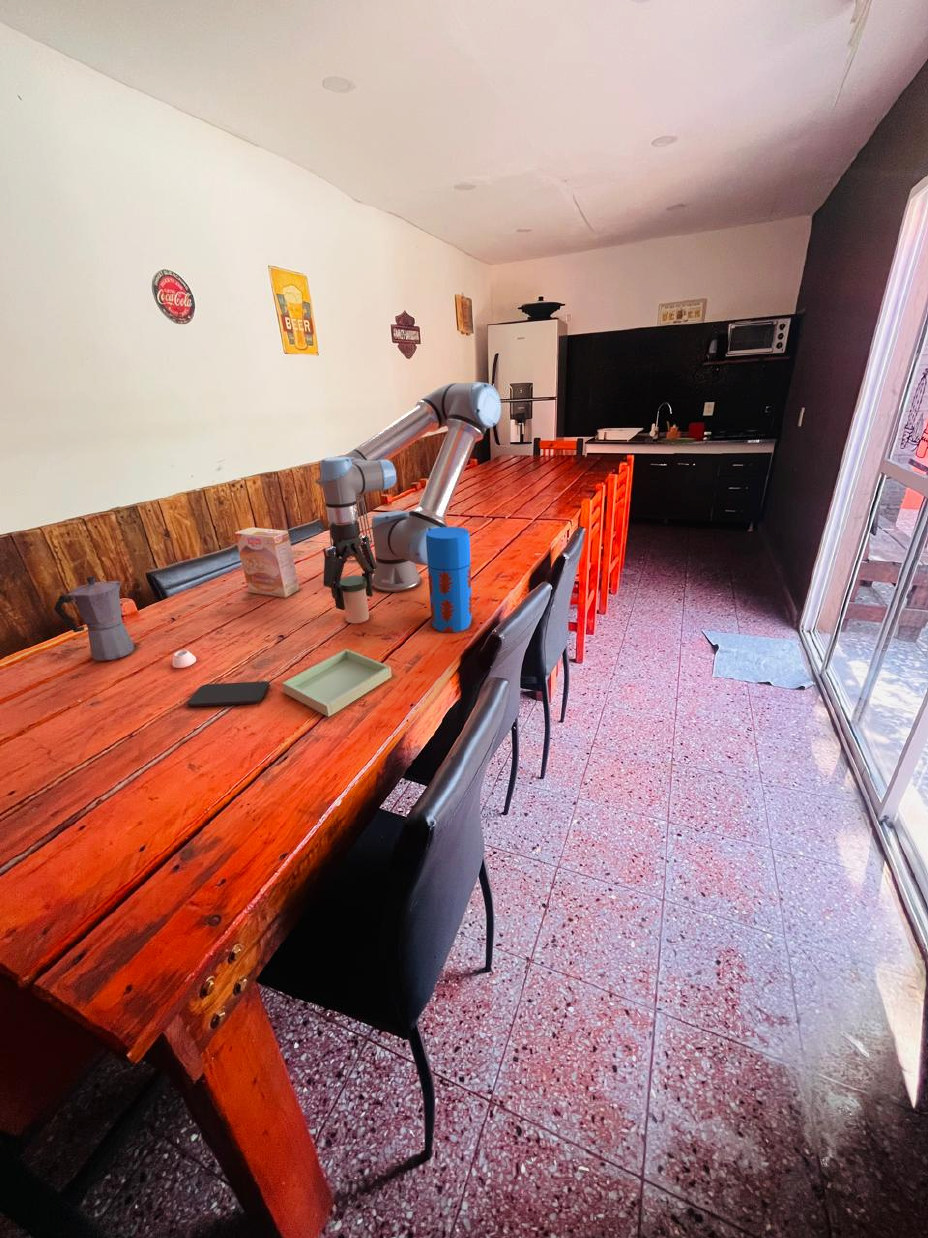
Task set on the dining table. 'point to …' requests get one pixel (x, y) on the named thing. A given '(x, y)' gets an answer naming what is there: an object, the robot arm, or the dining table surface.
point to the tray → (337, 681)
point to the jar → (356, 606)
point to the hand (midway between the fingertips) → (355, 602)
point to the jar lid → (353, 583)
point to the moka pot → (99, 618)
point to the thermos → (449, 578)
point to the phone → (229, 694)
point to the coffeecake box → (267, 561)
